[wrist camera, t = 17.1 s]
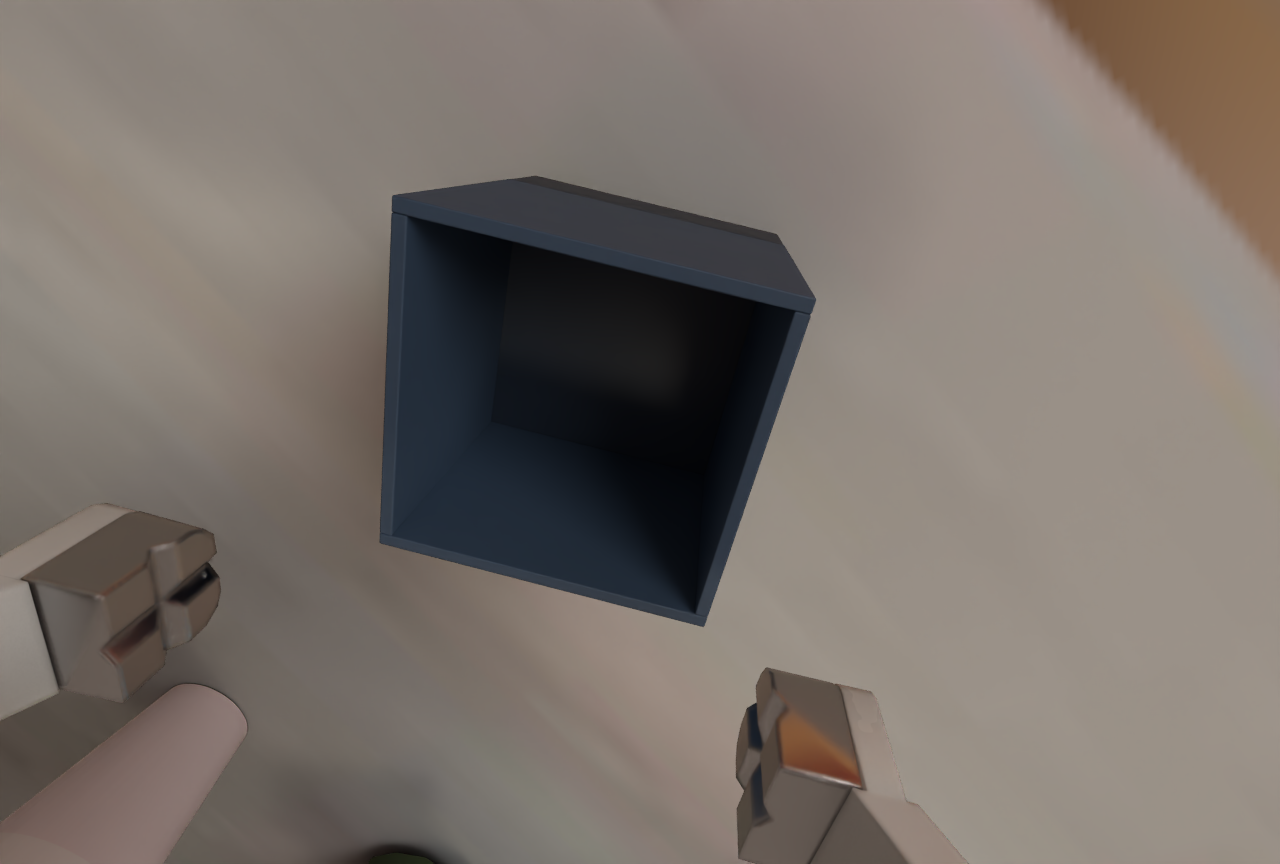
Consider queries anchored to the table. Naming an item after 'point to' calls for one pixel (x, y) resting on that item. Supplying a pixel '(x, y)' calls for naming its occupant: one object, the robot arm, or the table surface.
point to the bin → (581, 386)
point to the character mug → (399, 859)
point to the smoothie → (131, 786)
